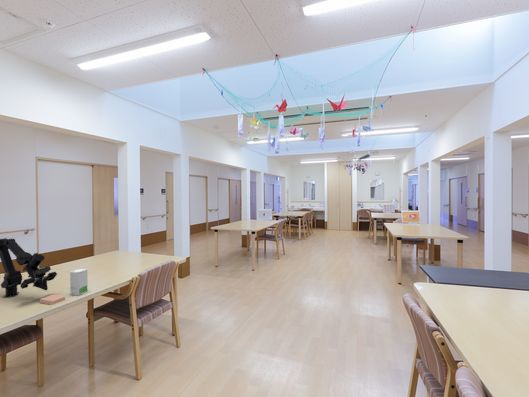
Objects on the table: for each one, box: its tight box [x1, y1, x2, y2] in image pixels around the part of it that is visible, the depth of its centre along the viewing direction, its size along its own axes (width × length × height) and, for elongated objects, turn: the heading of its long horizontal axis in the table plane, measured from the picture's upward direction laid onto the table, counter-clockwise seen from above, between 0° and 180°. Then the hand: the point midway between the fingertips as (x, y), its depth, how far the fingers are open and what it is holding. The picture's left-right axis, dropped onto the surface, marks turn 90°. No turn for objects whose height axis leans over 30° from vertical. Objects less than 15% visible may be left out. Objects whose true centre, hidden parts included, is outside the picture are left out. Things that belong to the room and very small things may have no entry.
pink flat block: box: [39, 294, 66, 306], centre depth 168 cm, size 2×8×10 cm
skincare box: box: [69, 268, 89, 296], centre depth 182 cm, size 8×7×16 cm
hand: (46, 289), depth 170 cm, fingers closed
